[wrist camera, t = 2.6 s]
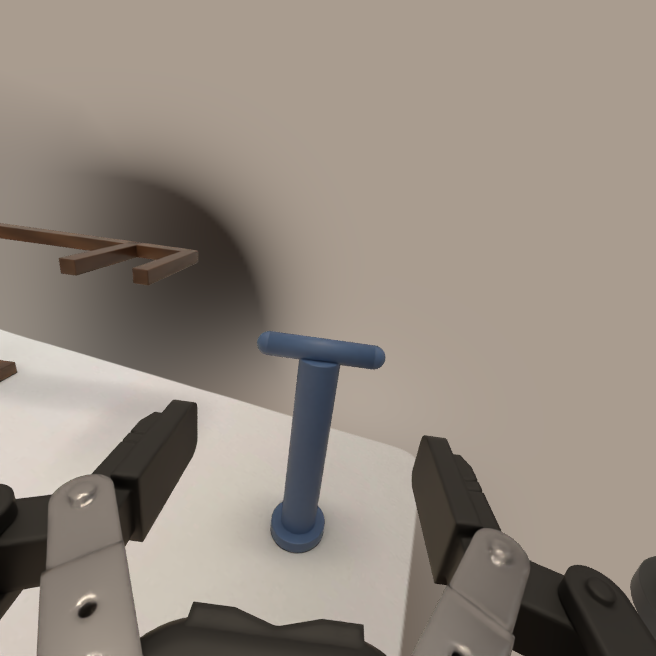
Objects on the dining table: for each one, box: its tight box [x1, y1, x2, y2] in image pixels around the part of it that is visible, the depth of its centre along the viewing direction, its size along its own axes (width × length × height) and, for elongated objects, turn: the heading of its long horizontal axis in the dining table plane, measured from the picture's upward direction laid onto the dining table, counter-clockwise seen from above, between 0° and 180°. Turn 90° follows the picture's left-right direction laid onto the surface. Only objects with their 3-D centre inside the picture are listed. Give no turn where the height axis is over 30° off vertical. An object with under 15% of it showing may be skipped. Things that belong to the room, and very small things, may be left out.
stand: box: [0, 223, 198, 381], centre depth 35 cm, size 36×12×20 cm, turn 87°
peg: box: [257, 331, 385, 553], centre depth 26 cm, size 4×9×17 cm, turn 87°
